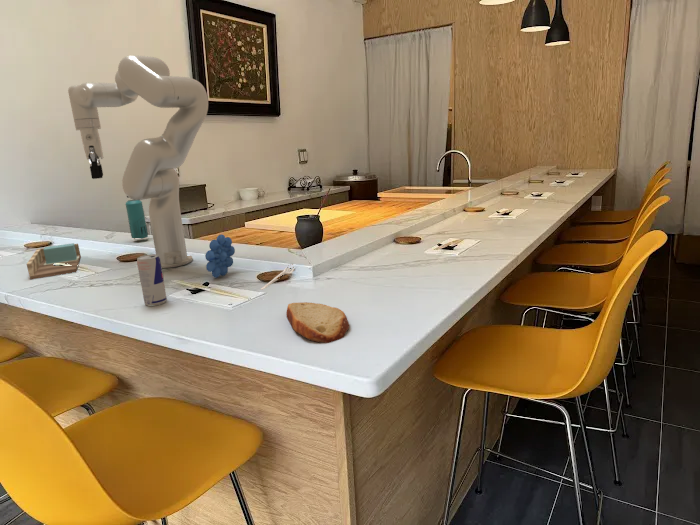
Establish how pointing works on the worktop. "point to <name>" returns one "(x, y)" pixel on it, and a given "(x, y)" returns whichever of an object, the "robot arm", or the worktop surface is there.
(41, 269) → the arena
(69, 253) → the teal block
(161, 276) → the energy drink
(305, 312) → the bread slice
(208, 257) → the grapes
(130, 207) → the beverage bottle
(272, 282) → the fork
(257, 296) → the worktop surface
